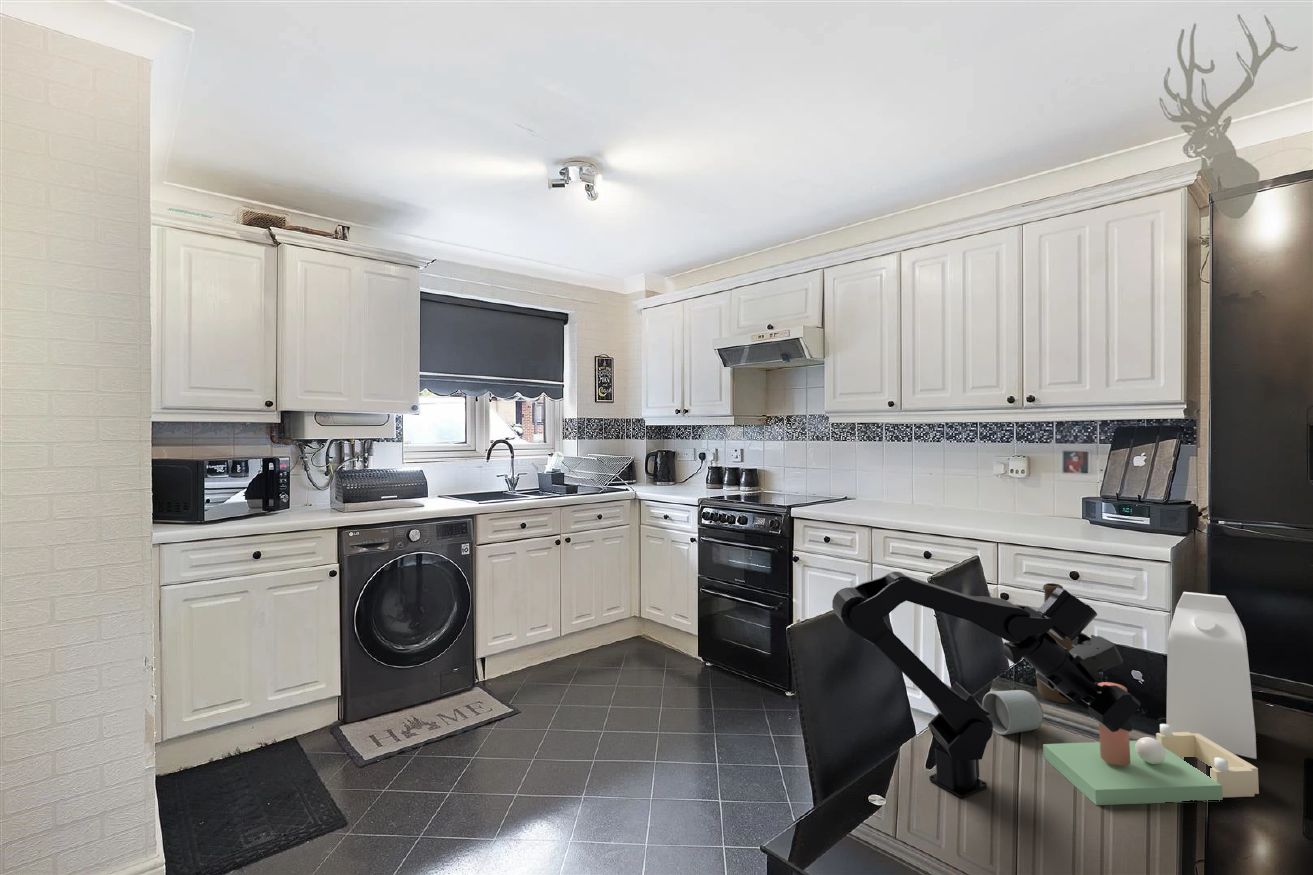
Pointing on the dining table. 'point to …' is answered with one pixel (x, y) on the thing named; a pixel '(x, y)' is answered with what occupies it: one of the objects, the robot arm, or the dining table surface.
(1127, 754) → the salmon pink cylinder
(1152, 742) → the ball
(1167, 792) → the pitch
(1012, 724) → the ceramic mug
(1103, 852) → the dining table surface
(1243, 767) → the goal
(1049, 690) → the beer bottle
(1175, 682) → the milk
